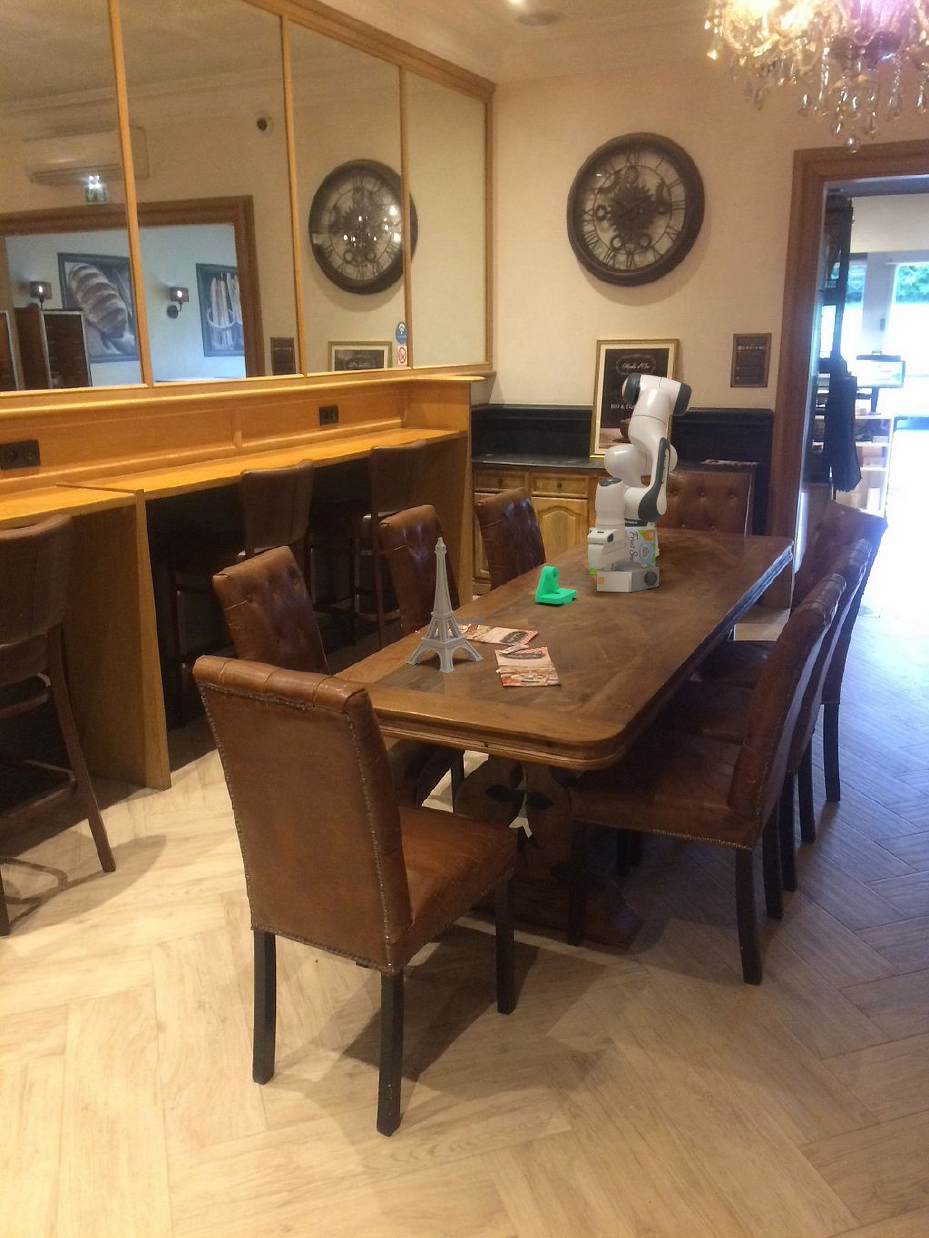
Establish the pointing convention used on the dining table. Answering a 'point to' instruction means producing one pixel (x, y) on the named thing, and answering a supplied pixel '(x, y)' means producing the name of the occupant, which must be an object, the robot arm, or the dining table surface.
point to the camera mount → (552, 588)
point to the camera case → (639, 574)
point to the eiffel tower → (443, 623)
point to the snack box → (638, 545)
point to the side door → (614, 581)
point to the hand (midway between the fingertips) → (609, 578)
